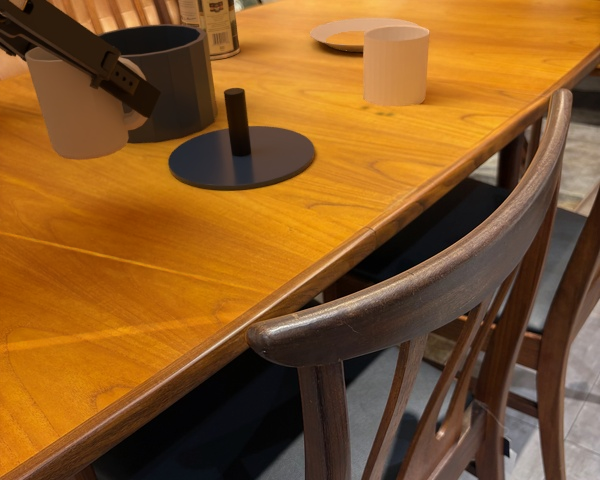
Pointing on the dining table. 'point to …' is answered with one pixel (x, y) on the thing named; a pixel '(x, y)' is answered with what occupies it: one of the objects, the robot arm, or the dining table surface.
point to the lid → (241, 153)
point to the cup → (79, 108)
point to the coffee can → (213, 24)
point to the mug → (395, 65)
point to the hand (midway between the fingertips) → (123, 96)
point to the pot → (170, 78)
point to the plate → (354, 24)
